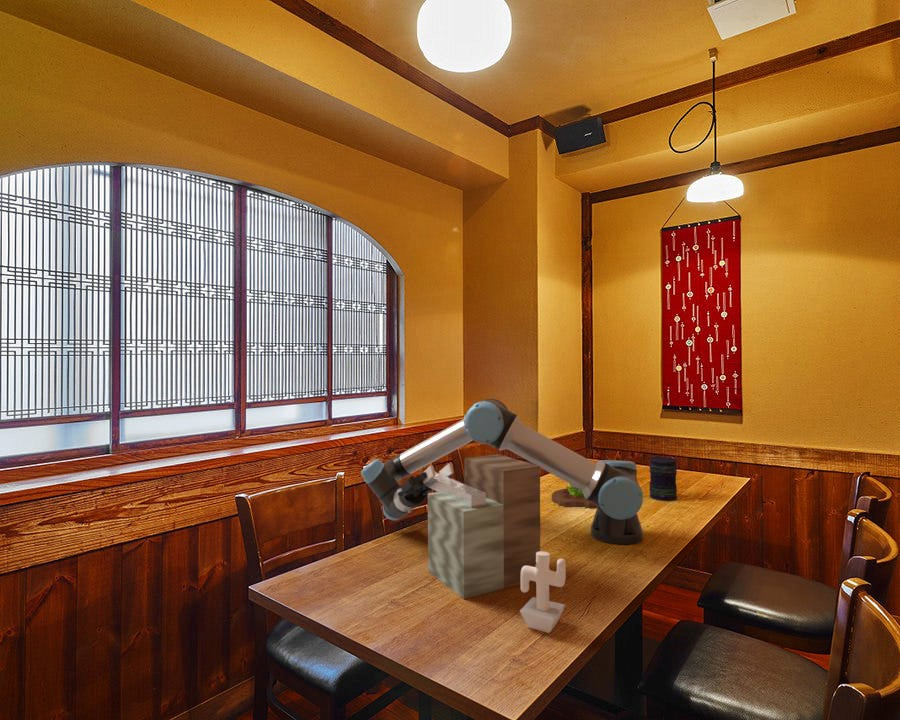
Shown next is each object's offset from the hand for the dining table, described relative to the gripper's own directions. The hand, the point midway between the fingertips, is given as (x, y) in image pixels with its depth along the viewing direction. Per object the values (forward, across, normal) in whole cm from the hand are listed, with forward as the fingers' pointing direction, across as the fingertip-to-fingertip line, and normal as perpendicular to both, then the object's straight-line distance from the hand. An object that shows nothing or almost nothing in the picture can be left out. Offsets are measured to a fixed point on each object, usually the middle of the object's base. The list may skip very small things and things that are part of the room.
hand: (442, 469), depth 139 cm
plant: (-38, -74, -8) cm, 83 cm away
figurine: (+20, -3, -41) cm, 46 cm away
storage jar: (-26, -105, -14) cm, 109 cm away
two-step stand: (-4, -6, -27) cm, 28 cm away
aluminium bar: (+2, 0, -7) cm, 7 cm away
